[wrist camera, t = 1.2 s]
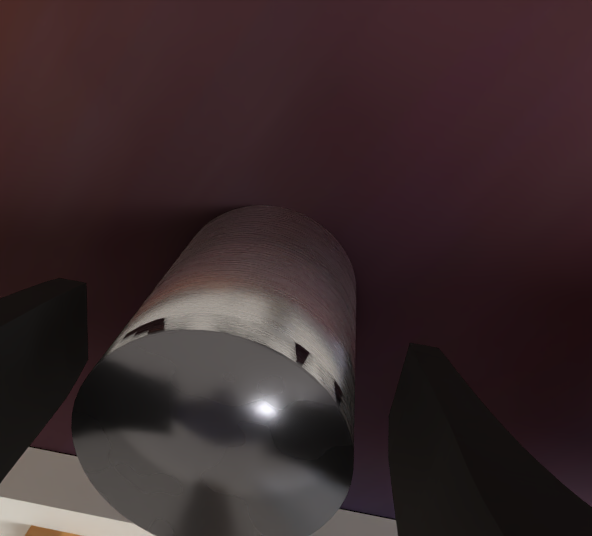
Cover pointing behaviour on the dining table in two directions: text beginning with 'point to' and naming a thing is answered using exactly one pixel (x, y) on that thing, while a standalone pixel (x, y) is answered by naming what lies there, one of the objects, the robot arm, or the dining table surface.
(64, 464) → the white flat frame
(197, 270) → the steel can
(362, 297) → the dining table surface
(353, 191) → the dining table surface
